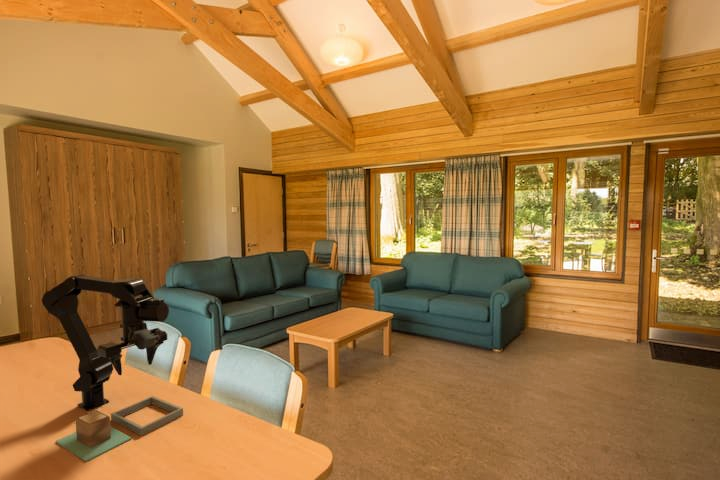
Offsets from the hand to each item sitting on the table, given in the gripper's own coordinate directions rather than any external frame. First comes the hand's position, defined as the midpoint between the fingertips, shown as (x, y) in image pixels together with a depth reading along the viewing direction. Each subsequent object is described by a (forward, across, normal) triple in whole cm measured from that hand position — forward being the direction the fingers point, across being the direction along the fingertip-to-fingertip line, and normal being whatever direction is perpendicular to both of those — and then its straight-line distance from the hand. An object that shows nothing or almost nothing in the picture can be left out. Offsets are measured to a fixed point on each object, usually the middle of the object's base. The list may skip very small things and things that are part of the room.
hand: (135, 369), depth 120 cm
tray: (+12, -2, -9) cm, 15 cm away
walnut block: (+12, -16, -8) cm, 21 cm away
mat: (+12, -16, -8) cm, 22 cm away
